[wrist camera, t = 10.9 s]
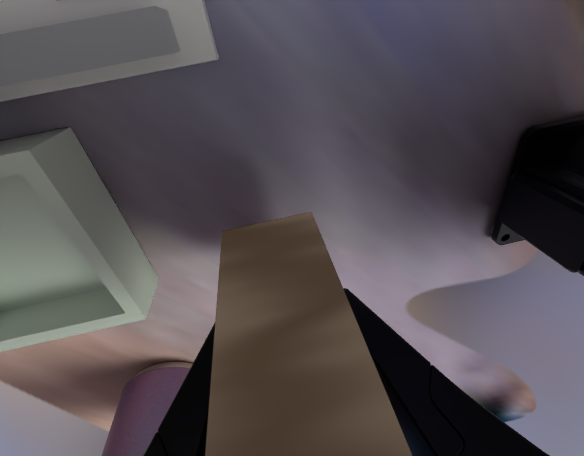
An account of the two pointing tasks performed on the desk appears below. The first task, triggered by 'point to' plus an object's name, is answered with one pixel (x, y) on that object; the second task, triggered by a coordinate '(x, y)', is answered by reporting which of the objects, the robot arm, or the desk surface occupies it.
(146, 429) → the beverage can
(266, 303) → the tan rectangular block
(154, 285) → the holder
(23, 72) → the panel
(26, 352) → the desk surface
